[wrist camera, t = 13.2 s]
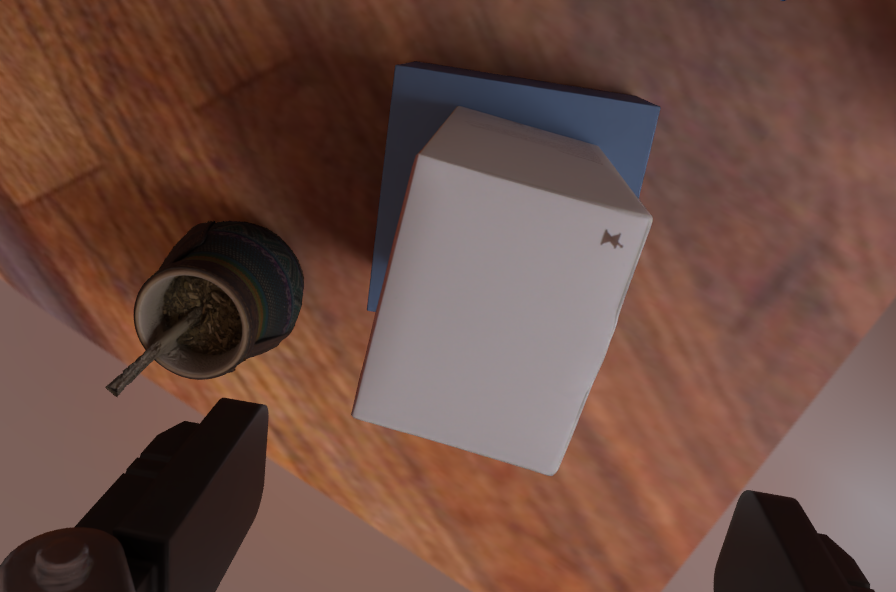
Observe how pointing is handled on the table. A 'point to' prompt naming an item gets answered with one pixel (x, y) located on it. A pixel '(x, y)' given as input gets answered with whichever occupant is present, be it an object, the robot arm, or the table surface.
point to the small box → (500, 290)
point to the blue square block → (516, 99)
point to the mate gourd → (216, 302)
